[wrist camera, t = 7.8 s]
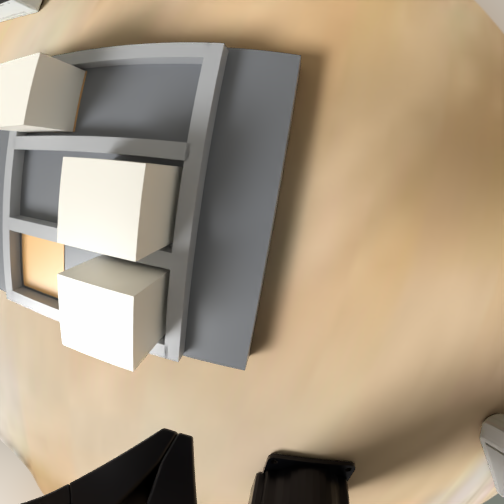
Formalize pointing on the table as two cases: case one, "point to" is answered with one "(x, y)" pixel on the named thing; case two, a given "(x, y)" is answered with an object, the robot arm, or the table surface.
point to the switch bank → (191, 188)
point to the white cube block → (117, 206)
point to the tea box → (17, 8)
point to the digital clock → (494, 448)
